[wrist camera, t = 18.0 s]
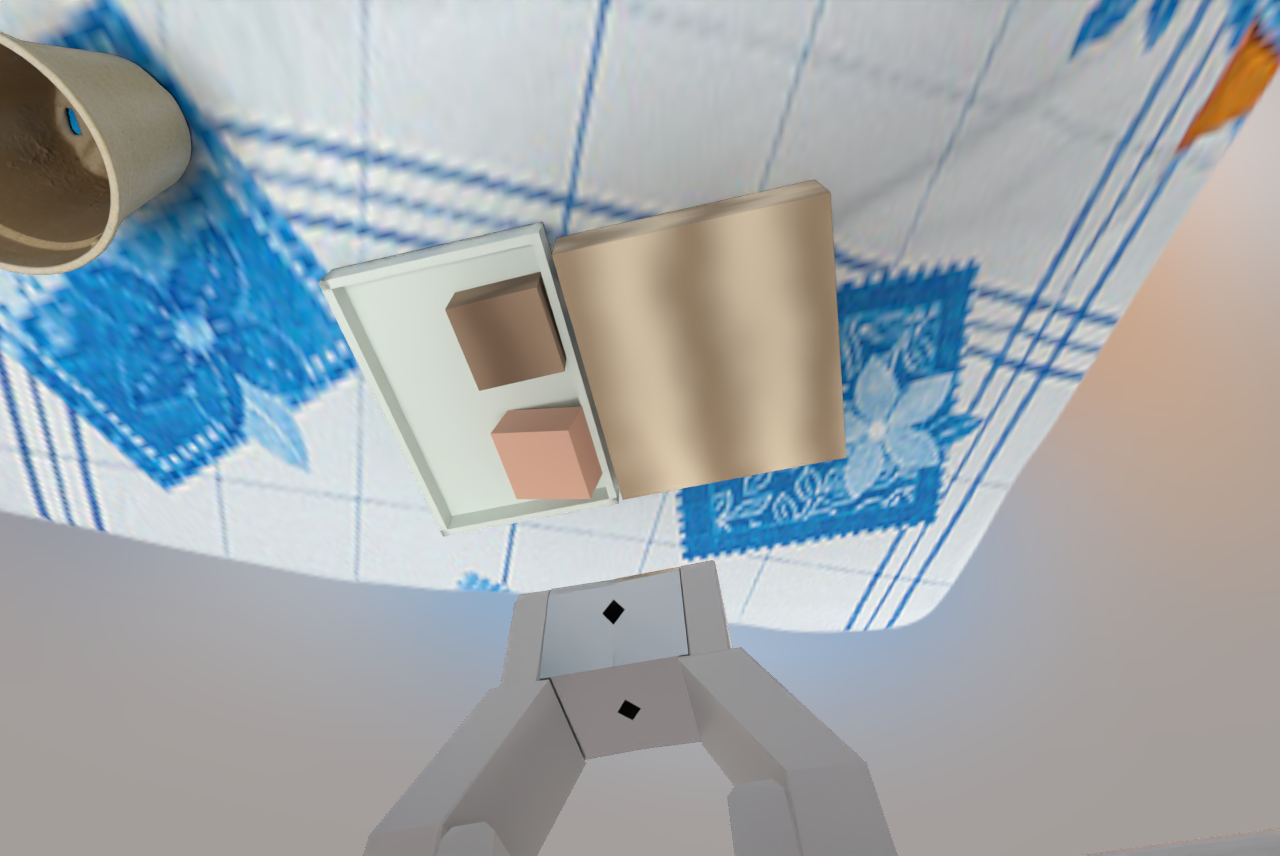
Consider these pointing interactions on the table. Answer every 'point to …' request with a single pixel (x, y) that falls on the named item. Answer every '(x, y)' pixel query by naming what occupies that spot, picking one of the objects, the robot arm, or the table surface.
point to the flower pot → (78, 152)
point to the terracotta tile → (548, 453)
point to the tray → (458, 374)
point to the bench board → (711, 338)
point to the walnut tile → (507, 331)
